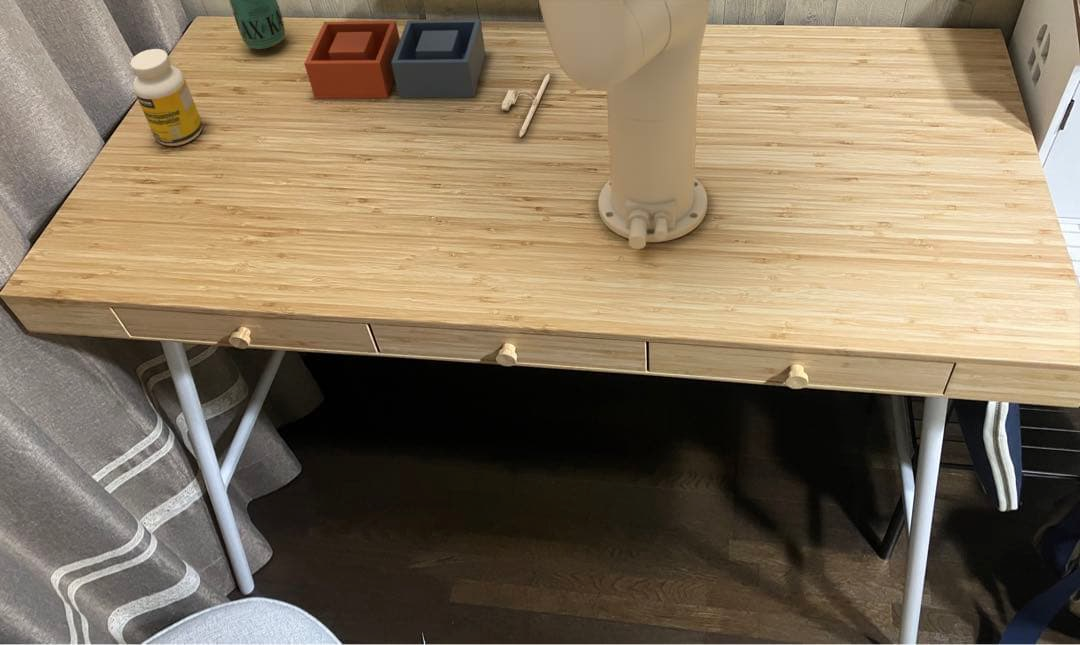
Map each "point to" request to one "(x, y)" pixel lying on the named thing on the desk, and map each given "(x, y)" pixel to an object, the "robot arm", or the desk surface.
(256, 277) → the desk surface
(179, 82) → the pill bottle
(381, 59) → the terracotta bin
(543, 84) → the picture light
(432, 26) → the blue bin
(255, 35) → the beverage bottle
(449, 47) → the gray block
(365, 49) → the terracotta block
